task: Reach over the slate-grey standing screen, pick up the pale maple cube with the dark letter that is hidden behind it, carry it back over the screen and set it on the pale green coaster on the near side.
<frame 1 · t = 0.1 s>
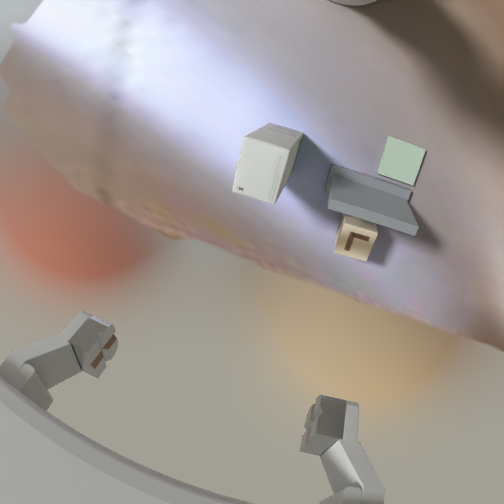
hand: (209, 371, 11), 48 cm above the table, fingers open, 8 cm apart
coaster: (401, 160, 48), on the table
letter cube: (355, 227, 57), on the table
screen: (368, 189, 53), on the table
skincare box: (280, 147, 53), on the table
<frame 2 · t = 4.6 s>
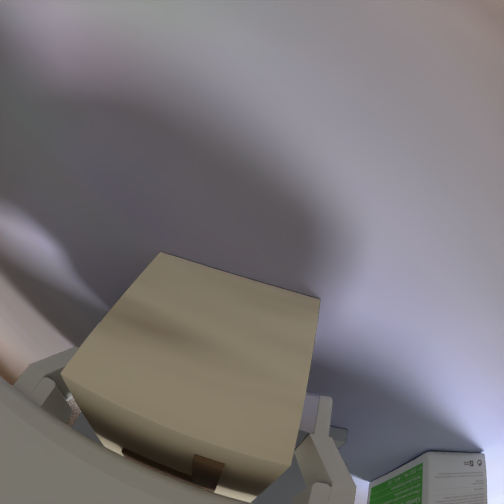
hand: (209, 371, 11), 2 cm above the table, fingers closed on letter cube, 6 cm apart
letter cube: (227, 331, 13), on the table, touching gripper
screen: (213, 414, 17), on the table
skincare box: (426, 468, 17), on the table
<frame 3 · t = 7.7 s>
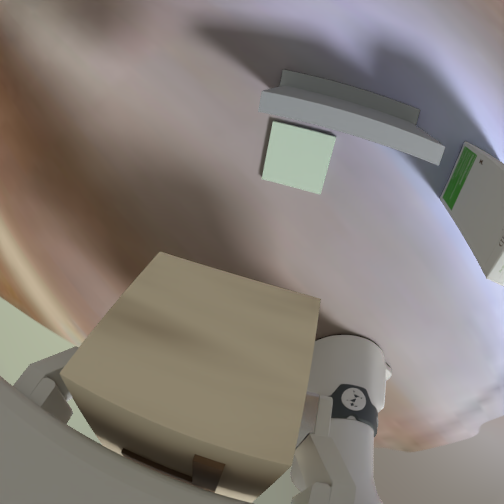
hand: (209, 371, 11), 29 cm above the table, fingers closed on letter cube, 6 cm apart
coaster: (298, 157, 34), on the table
letter cube: (227, 331, 13), point 26 cm above the table, touching gripper
screen: (348, 107, 30), on the table
skincare box: (471, 181, 30), on the table
when the fingers open (4 cm above the table, at t = 11.0 s): letter cube drops 1 cm, resting on coaster.
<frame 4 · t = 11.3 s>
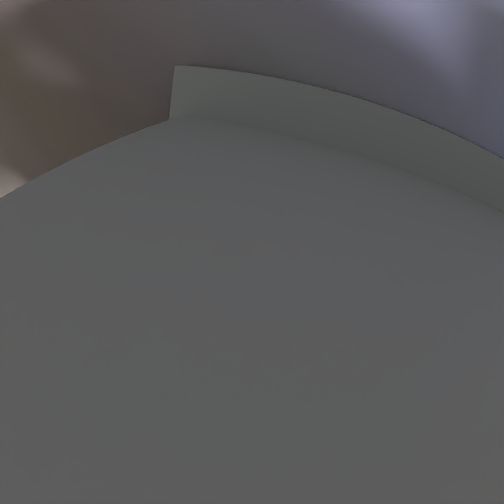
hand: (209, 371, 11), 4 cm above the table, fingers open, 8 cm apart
screen: (383, 181, 10), on the table
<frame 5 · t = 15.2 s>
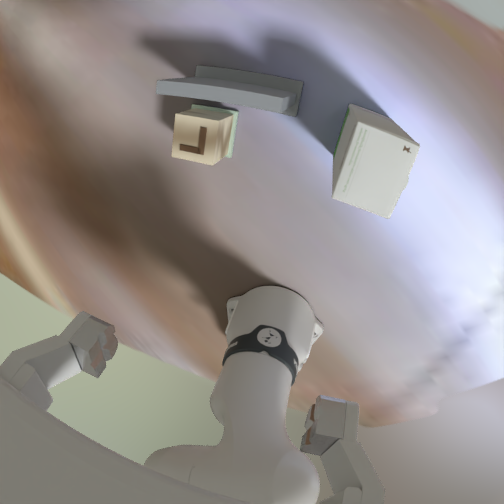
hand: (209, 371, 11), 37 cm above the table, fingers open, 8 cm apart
coaster: (212, 129, 44), on the table
letter cube: (211, 130, 43), point 1 cm above the table, touching coaster
screen: (246, 88, 39), on the table
skincare box: (363, 138, 39), on the table
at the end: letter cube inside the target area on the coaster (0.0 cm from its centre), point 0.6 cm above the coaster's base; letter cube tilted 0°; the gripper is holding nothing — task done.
